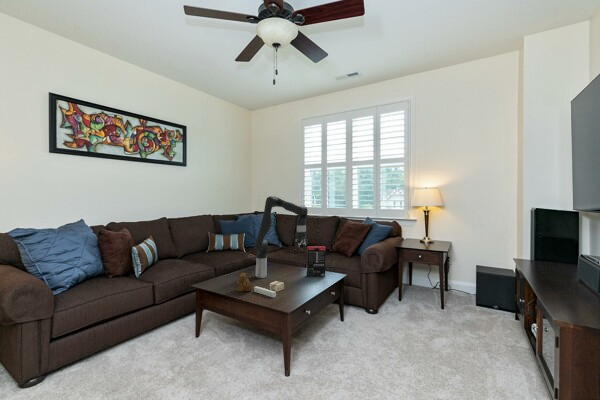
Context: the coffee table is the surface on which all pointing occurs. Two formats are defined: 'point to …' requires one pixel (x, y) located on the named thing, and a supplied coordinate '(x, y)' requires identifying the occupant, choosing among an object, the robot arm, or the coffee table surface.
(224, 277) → the coffee table surface
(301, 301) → the coffee table surface
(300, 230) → the robot arm
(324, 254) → the graphics card box
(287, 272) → the coffee table surface
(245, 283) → the stuffed squirrel
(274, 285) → the maple block
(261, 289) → the board
